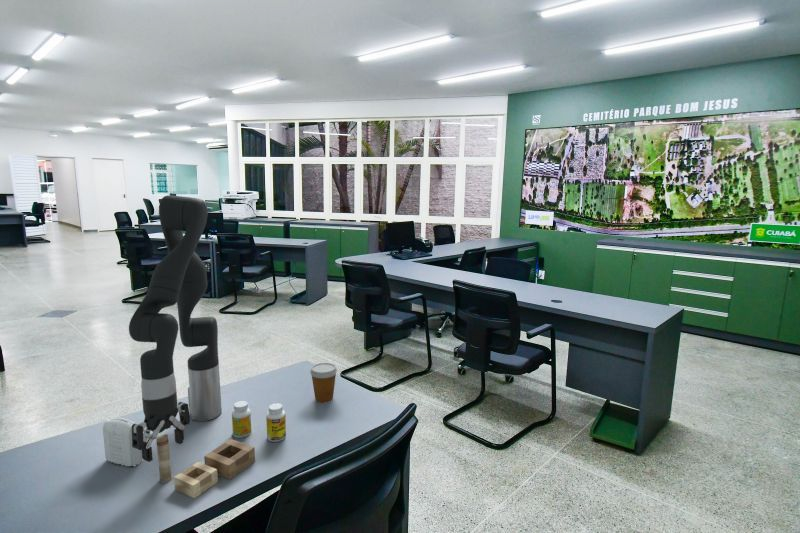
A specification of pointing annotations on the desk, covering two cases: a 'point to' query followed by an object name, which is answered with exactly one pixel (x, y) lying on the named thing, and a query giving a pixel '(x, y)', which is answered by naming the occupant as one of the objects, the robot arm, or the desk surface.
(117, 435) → the photo printer
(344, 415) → the desk surface
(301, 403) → the desk surface
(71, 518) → the desk surface
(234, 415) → the supplement bottle
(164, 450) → the wooden peg
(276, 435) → the supplement bottle
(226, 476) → the brown wooden square frame
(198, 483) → the light wood hollow block
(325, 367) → the disposable coffee cup
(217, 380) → the robot arm
